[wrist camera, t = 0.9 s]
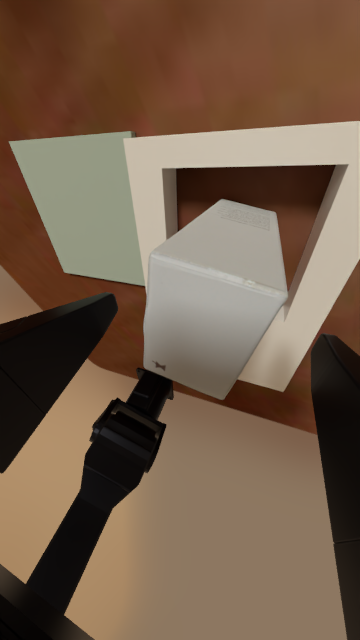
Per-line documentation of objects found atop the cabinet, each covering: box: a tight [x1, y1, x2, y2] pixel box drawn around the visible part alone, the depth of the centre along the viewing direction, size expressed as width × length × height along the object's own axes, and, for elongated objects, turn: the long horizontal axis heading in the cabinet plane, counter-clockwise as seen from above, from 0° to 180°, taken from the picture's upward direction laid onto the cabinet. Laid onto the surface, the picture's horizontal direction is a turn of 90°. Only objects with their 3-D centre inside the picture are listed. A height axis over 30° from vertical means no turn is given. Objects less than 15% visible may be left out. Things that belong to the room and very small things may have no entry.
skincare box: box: [143, 199, 288, 400], centre depth 12 cm, size 6×4×12 cm
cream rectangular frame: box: [123, 121, 360, 392], centre depth 17 cm, size 20×15×3 cm
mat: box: [9, 131, 145, 286], centre depth 19 cm, size 12×12×1 cm
